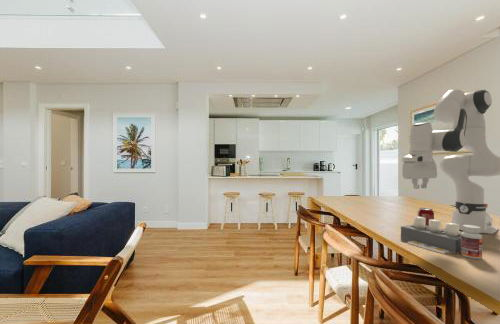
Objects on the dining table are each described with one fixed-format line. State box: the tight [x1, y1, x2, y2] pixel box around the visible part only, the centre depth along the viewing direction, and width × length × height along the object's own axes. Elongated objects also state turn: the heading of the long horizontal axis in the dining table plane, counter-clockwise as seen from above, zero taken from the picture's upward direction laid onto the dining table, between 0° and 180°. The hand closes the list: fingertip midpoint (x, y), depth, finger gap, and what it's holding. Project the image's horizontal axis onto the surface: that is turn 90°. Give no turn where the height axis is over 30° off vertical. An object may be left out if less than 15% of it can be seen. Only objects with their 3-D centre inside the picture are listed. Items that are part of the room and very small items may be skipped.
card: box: [407, 241, 450, 255], centre depth 108 cm, size 4×14×1 cm, turn 26°
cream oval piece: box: [413, 216, 426, 229], centre depth 120 cm, size 4×4×6 cm
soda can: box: [417, 207, 435, 226], centre depth 131 cm, size 7×7×12 cm
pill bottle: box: [460, 225, 483, 260], centre depth 99 cm, size 6×6×11 cm
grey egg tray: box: [400, 223, 462, 255], centre depth 114 cm, size 13×22×6 cm, turn 26°
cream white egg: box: [429, 219, 442, 233], centre depth 114 cm, size 4×4×6 cm
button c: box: [444, 222, 460, 237], centre depth 108 cm, size 4×4×6 cm
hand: (420, 188), depth 120 cm, fingers open, 4 cm apart
